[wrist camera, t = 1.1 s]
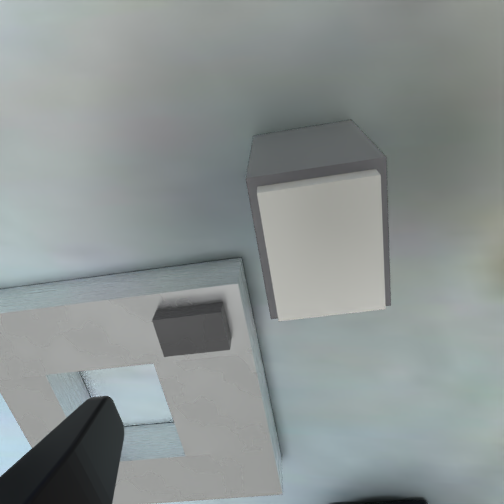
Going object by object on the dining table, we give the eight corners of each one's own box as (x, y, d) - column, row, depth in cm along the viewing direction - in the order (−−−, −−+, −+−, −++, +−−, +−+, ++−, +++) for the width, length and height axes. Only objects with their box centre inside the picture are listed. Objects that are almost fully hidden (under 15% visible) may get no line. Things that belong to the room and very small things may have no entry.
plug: (358, 231, 20) (395, 315, 14) (271, 243, 20) (270, 329, 14) (351, 119, 17) (391, 162, 11) (253, 135, 18) (244, 184, 12)
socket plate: (281, 457, 26) (282, 508, 24) (82, 472, 28) (61, 522, 25) (241, 257, 20) (236, 293, 17) (-11, 290, 22) (-54, 329, 19)
